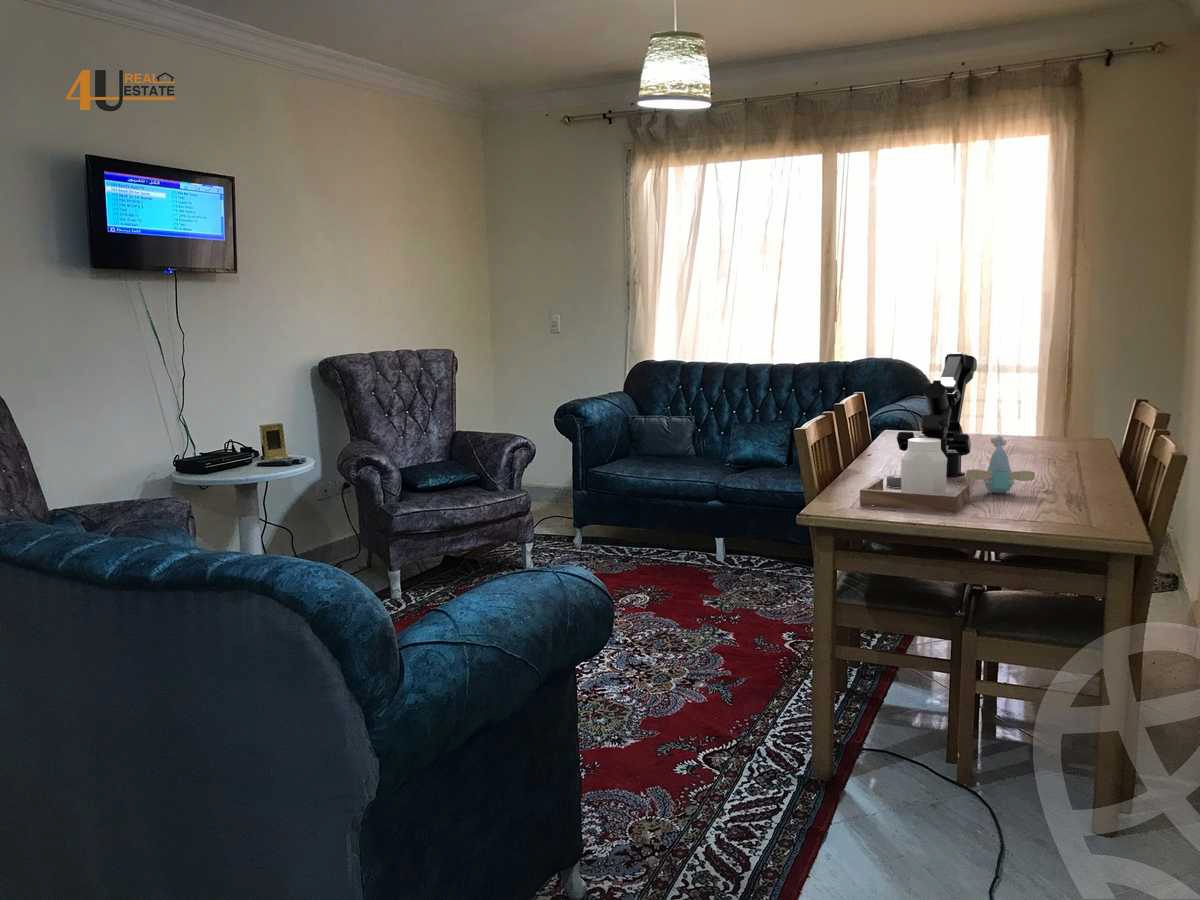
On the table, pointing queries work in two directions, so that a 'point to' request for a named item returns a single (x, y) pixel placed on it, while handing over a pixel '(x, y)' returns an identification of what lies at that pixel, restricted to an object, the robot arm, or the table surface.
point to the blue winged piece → (999, 470)
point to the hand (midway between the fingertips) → (928, 467)
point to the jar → (924, 467)
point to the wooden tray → (913, 498)
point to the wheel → (894, 481)
